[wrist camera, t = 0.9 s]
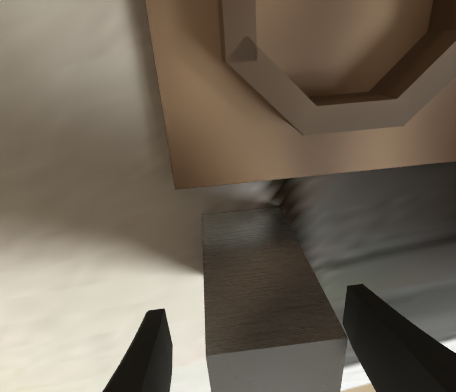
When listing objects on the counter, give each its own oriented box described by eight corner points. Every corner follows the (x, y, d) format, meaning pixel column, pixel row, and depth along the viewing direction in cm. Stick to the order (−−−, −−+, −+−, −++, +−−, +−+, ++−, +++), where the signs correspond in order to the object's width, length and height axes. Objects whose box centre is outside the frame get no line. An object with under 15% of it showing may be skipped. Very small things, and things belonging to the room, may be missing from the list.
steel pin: (279, 206, 16) (347, 337, 9) (279, 268, 18) (336, 420, 10) (202, 214, 16) (205, 355, 8) (209, 276, 17) (218, 436, 10)
